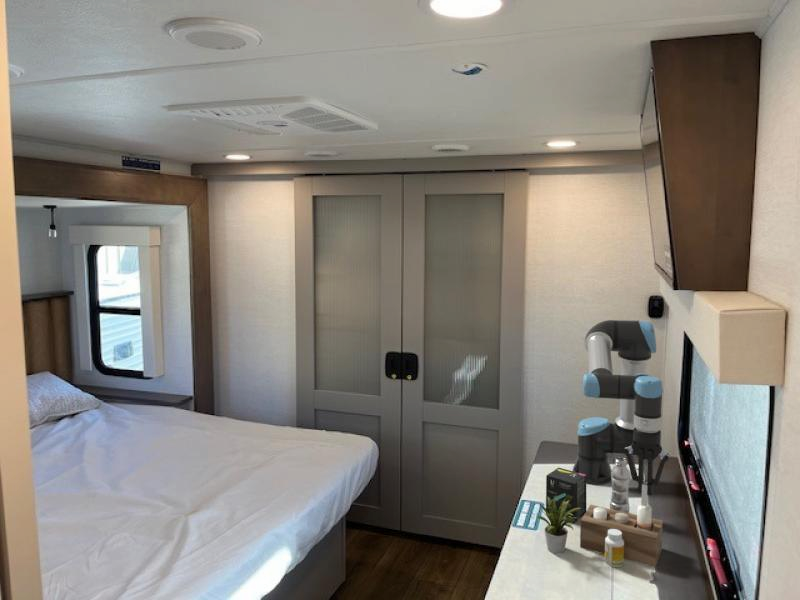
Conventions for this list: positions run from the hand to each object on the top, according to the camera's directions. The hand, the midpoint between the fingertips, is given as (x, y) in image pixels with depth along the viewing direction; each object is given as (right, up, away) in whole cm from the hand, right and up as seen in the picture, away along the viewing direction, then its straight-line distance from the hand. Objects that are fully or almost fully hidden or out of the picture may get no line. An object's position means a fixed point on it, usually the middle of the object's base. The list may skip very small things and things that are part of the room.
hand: (644, 503), depth 184 cm
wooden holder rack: (-5, -15, +5) cm, 17 cm away
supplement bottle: (-10, -17, -3) cm, 20 cm away
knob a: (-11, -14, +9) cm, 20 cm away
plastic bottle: (+2, -13, +27) cm, 30 cm away
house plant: (-26, -16, +4) cm, 31 cm away
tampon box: (-16, -13, +27) cm, 35 cm away
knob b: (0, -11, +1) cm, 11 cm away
